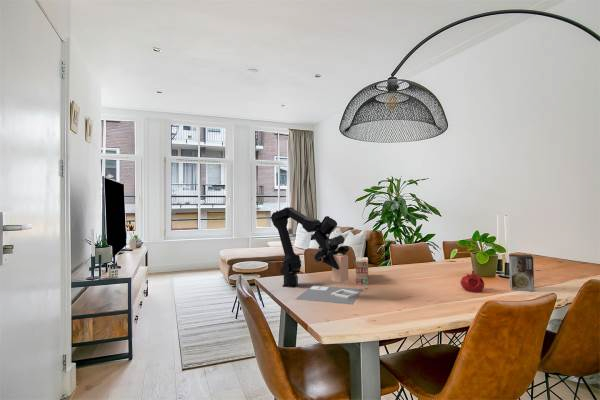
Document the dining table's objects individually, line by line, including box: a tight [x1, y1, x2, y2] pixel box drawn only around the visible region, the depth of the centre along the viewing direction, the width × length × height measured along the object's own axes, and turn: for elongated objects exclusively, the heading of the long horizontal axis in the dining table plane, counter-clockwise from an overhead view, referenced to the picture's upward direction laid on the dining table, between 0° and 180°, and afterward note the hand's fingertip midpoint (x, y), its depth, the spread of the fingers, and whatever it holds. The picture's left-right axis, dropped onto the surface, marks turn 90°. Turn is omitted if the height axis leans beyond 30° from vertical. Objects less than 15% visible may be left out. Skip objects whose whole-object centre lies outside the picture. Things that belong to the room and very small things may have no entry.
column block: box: [331, 253, 349, 283], centre depth 147 cm, size 5×5×12 cm
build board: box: [295, 284, 364, 306], centre depth 151 cm, size 25×25×2 cm
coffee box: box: [508, 253, 535, 292], centre depth 158 cm, size 9×6×16 cm
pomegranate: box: [460, 270, 485, 293], centre depth 157 cm, size 10×10×9 cm
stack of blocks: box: [355, 256, 369, 286], centre depth 181 cm, size 21×6×12 cm, turn 169°
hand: (342, 268), depth 146 cm, fingers closed on column block, 5 cm apart
